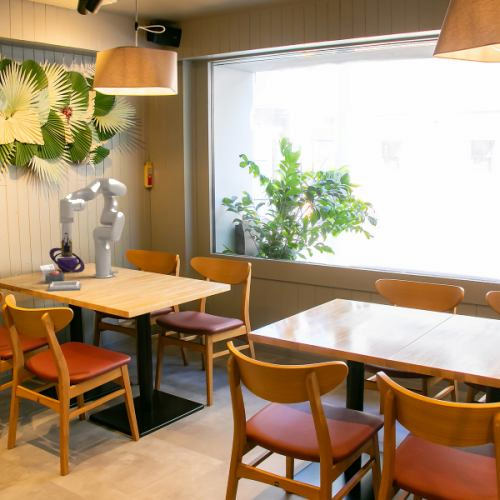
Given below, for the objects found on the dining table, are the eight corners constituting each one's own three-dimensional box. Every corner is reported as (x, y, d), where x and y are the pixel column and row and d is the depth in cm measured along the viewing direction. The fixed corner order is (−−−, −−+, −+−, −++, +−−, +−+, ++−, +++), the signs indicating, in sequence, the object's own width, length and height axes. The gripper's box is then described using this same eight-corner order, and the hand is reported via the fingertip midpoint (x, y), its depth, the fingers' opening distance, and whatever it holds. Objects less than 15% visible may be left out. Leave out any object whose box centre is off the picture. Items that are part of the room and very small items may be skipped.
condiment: (70, 255, 364) (70, 235, 362) (76, 257, 357) (75, 236, 356) (58, 256, 359) (57, 235, 358) (63, 257, 353) (63, 236, 351)
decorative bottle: (68, 275, 395) (66, 236, 391) (43, 272, 403) (41, 234, 400) (91, 270, 415) (90, 233, 411) (66, 267, 423) (65, 231, 420)
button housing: (64, 280, 378) (64, 272, 377) (63, 283, 368) (62, 275, 367) (47, 280, 376) (46, 272, 375) (45, 284, 366) (45, 275, 365)
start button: (59, 275, 374) (59, 270, 374) (58, 277, 369) (58, 272, 369) (50, 275, 373) (50, 270, 373) (50, 277, 368) (49, 272, 368)
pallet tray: (81, 284, 364) (81, 280, 364) (80, 290, 349) (80, 285, 349) (49, 285, 361) (49, 281, 360) (46, 291, 345) (46, 286, 345)
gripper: (61, 219, 364) (62, 249, 366) (58, 221, 347) (59, 253, 349) (74, 219, 366) (75, 249, 368) (72, 221, 349) (72, 253, 351)
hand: (67, 251), depth 359 cm, fingers closed on condiment, 6 cm apart
